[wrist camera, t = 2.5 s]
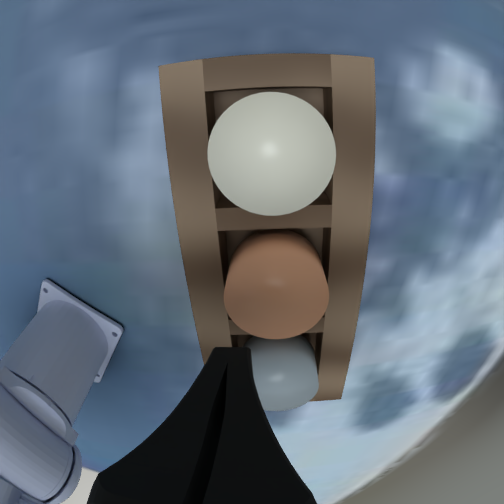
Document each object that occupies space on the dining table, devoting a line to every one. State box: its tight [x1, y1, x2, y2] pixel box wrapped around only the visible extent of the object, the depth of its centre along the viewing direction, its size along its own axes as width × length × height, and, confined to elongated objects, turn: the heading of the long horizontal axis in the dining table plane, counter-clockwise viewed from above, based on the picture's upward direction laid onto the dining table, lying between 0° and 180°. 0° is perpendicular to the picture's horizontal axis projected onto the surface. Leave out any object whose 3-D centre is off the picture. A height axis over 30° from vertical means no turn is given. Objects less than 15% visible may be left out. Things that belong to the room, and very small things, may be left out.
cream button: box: [207, 92, 336, 216], centre depth 14 cm, size 5×5×3 cm
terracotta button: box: [224, 229, 329, 339], centre depth 17 cm, size 5×5×3 cm
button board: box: [159, 54, 376, 401], centre depth 19 cm, size 23×10×3 cm, turn 3°
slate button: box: [243, 335, 319, 411], centre depth 20 cm, size 5×5×3 cm
